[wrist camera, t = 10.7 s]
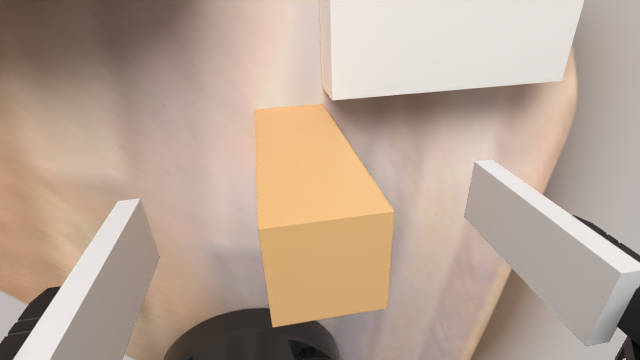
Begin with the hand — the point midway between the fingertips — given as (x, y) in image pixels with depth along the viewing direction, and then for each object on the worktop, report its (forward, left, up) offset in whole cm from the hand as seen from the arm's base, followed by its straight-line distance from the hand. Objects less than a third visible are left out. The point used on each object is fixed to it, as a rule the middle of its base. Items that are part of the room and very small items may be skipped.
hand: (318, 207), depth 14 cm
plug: (0, 0, -9) cm, 9 cm away
